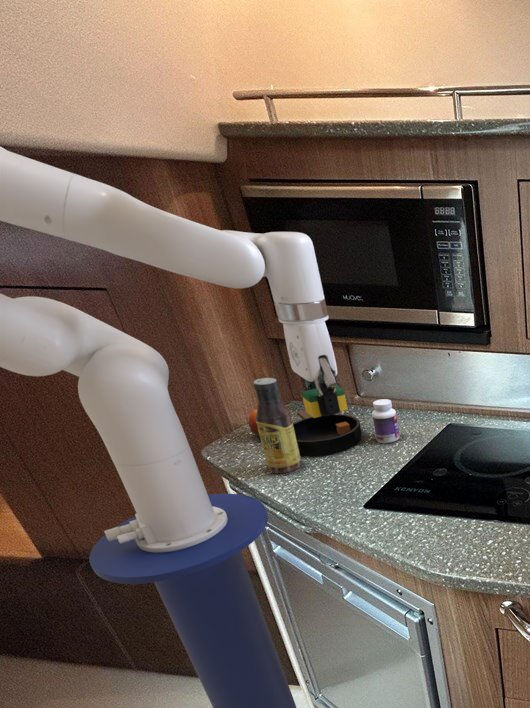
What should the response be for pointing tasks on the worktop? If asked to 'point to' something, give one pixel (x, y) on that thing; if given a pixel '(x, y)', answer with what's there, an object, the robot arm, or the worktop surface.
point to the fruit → (253, 422)
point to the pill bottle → (385, 421)
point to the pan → (325, 434)
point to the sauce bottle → (275, 428)
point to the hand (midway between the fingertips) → (325, 409)
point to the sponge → (312, 402)
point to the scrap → (343, 428)
